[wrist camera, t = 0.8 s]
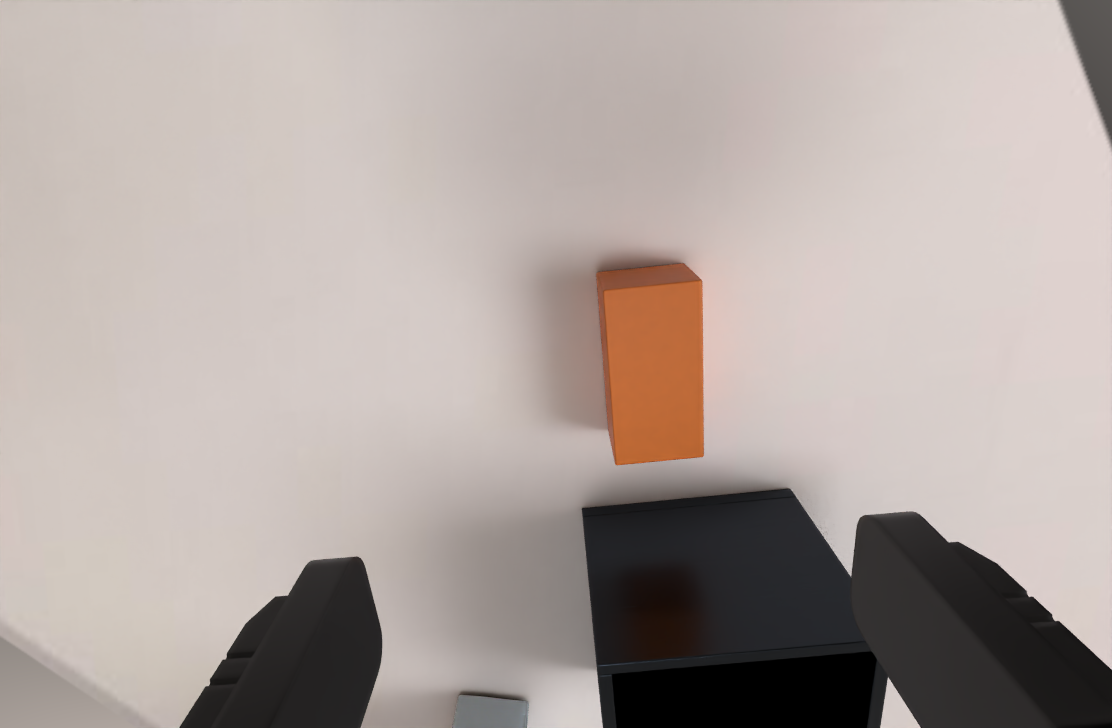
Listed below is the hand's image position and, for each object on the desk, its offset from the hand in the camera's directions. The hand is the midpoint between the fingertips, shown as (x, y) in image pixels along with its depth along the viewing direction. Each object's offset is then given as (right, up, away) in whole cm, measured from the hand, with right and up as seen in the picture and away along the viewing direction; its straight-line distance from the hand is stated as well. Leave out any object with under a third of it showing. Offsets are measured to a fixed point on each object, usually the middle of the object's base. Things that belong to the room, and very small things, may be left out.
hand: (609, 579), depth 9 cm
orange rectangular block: (+4, +4, +21) cm, 22 cm away
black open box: (+7, -10, +27) cm, 30 cm away
